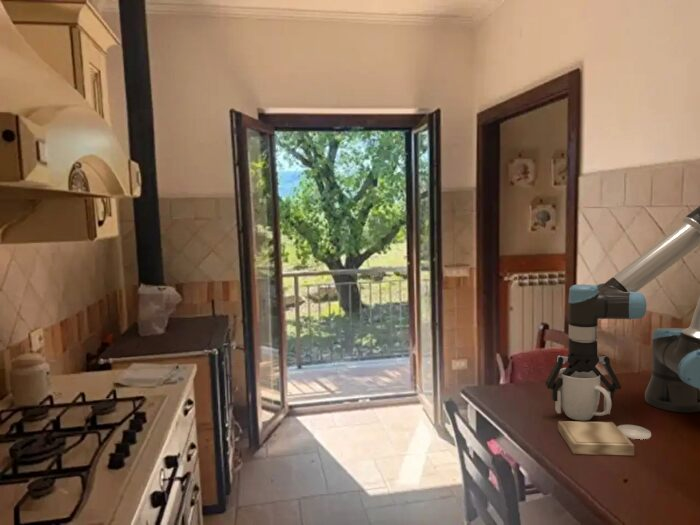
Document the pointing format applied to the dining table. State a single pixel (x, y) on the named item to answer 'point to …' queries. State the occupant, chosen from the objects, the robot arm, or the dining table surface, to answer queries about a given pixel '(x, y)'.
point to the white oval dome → (635, 432)
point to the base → (595, 438)
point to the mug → (582, 395)
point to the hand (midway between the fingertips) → (582, 412)
